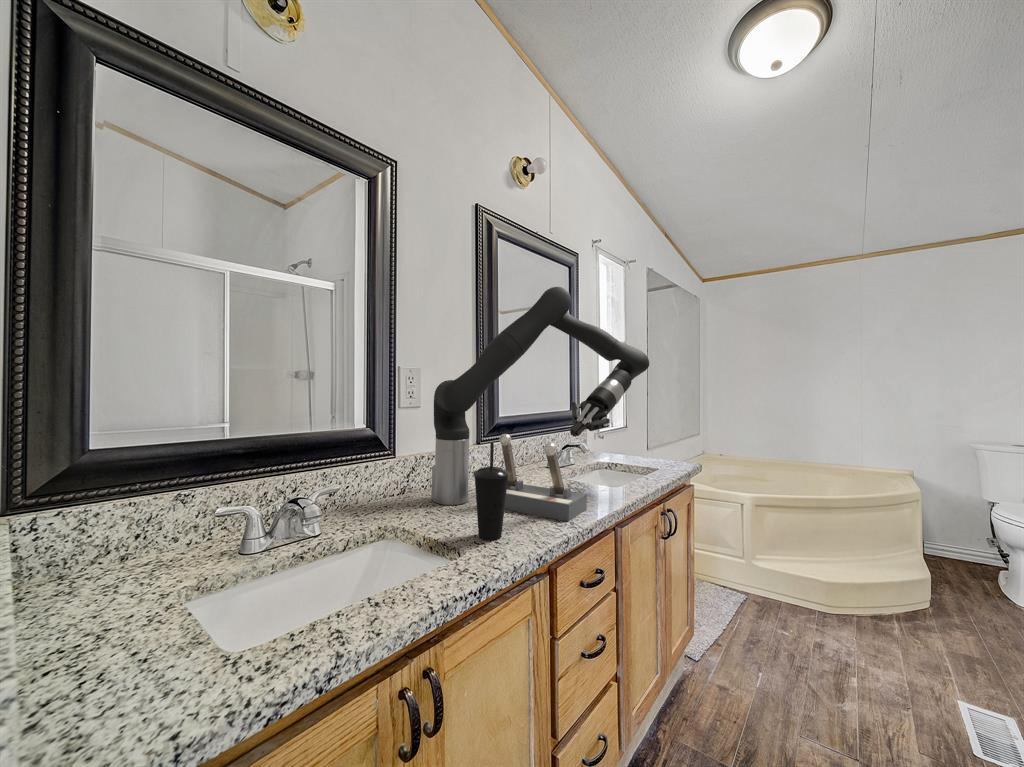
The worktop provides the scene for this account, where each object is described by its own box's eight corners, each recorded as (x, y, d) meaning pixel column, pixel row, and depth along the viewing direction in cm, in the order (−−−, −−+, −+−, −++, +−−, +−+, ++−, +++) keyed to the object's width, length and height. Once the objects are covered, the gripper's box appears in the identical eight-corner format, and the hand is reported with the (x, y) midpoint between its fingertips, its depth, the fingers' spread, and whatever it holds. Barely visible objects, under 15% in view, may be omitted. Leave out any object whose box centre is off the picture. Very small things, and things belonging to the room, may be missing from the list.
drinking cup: (464, 536, 91) (466, 442, 91) (490, 528, 96) (492, 439, 96) (489, 546, 86) (491, 446, 86) (515, 536, 91) (517, 443, 91)
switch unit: (485, 505, 114) (485, 481, 114) (508, 495, 125) (508, 474, 125) (568, 521, 102) (569, 495, 102) (586, 509, 113) (587, 485, 113)
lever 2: (552, 495, 110) (540, 447, 103) (556, 487, 112) (545, 439, 106) (563, 497, 108) (552, 448, 102) (568, 489, 110) (557, 440, 104)
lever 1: (505, 487, 117) (496, 436, 112) (510, 480, 119) (502, 431, 115) (515, 488, 115) (506, 437, 110) (521, 482, 118) (512, 432, 113)
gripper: (586, 378, 127) (552, 414, 118) (627, 396, 120) (594, 436, 111) (586, 396, 132) (553, 432, 123) (625, 414, 125) (593, 453, 116)
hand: (572, 434), depth 117 cm, fingers closed
